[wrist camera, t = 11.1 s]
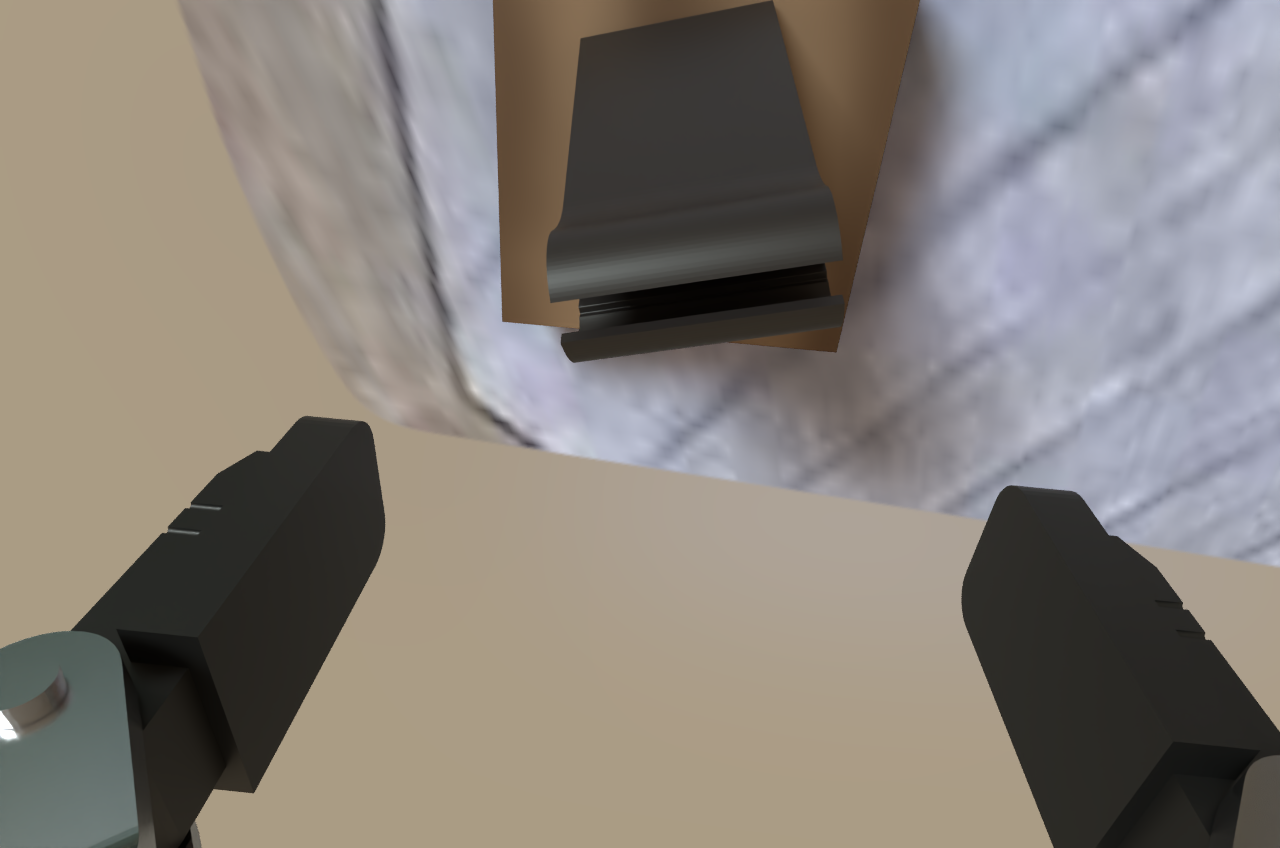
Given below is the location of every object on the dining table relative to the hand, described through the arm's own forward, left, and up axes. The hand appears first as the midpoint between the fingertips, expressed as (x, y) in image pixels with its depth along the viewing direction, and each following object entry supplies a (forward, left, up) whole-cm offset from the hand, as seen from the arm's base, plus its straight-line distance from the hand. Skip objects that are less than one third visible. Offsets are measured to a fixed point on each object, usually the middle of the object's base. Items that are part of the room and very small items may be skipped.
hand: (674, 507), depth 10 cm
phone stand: (0, 0, -19) cm, 19 cm away
